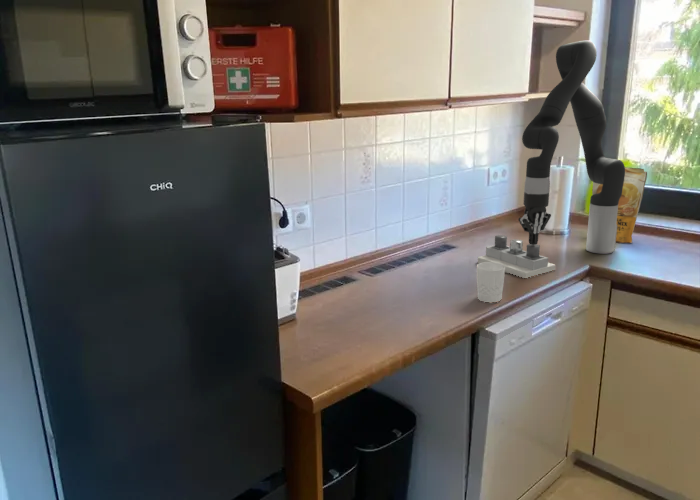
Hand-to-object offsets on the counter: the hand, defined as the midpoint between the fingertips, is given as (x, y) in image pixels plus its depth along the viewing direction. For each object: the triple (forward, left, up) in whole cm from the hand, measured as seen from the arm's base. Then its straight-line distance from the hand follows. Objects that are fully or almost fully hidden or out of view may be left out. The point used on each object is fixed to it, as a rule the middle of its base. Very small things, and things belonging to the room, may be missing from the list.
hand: (533, 244), depth 185 cm
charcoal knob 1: (0, -14, -4) cm, 14 cm away
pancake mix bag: (-55, -9, -10) cm, 57 cm away
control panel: (0, -7, -9) cm, 12 cm away
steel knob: (0, -7, -4) cm, 8 cm away
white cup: (+29, +10, -10) cm, 32 cm away
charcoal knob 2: (0, 0, -4) cm, 4 cm away
